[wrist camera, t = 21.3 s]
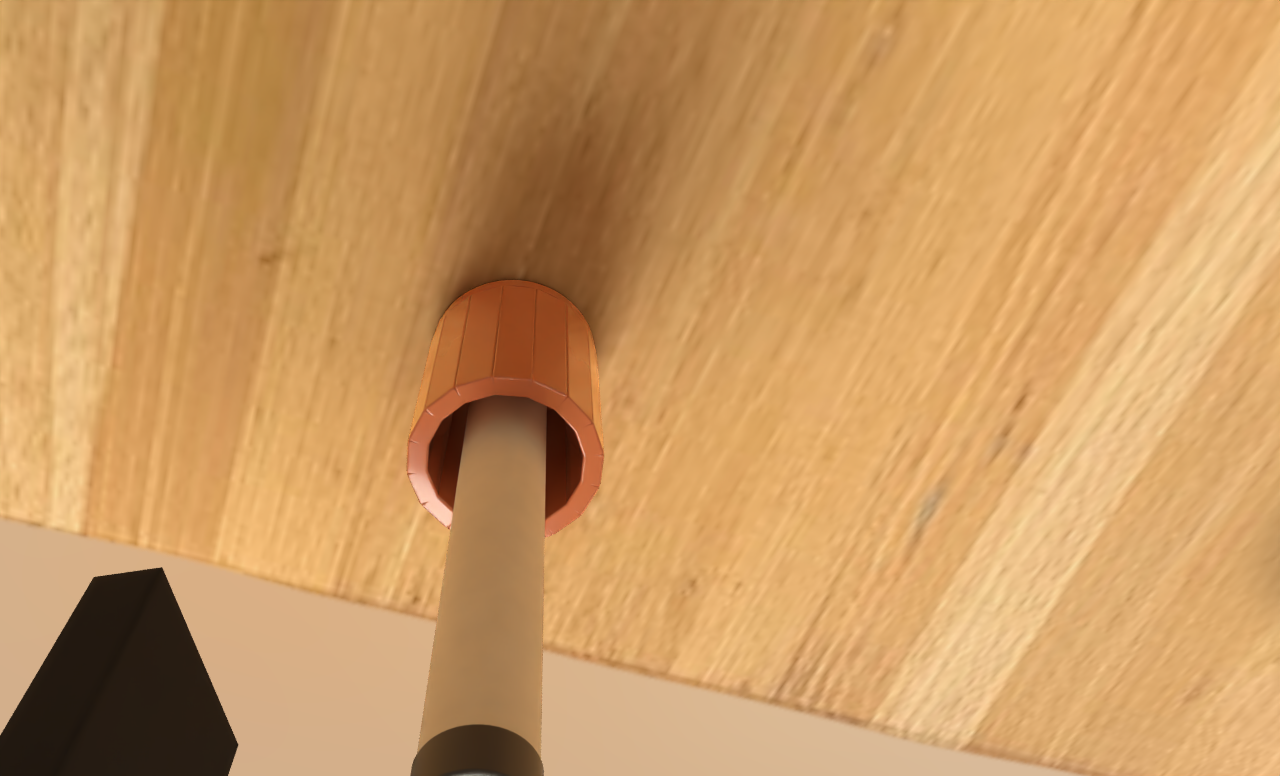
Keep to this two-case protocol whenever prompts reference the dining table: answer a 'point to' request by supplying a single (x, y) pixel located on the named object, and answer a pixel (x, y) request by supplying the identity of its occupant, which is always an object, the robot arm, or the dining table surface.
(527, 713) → the marker
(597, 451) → the pen pot
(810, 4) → the dining table surface
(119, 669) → the robot arm
